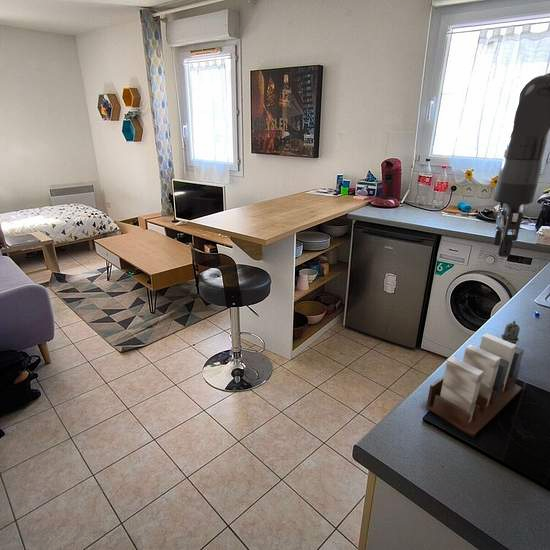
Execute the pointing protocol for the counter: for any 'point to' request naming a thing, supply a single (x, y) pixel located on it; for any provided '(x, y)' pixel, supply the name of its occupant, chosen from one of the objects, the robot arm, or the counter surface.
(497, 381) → the book rack
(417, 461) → the counter surface
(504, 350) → the white book
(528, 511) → the counter surface
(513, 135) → the robot arm
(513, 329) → the stone chess piece
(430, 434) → the counter surface
